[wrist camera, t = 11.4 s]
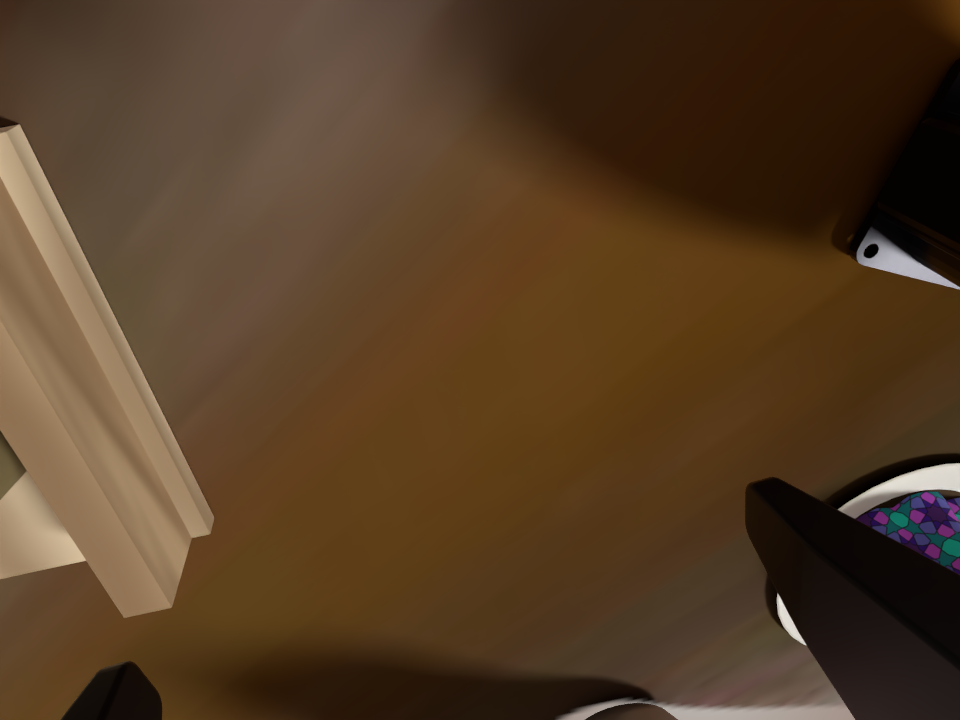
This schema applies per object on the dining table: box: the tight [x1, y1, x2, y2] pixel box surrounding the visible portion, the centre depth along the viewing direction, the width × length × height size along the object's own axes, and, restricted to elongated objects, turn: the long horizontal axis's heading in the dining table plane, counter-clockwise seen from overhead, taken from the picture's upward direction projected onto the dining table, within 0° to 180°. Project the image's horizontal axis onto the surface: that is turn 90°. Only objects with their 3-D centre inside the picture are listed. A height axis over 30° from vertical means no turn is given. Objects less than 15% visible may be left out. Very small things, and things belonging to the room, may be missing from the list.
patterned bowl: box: [777, 463, 960, 646], centre depth 30 cm, size 12×12×5 cm
